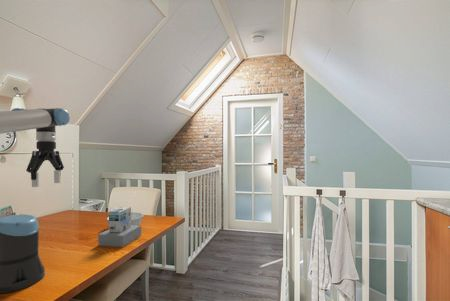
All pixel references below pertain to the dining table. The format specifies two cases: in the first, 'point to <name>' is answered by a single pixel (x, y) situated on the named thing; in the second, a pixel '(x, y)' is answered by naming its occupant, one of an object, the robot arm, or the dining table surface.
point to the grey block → (119, 237)
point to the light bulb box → (119, 219)
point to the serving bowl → (134, 218)
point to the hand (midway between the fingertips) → (47, 184)
